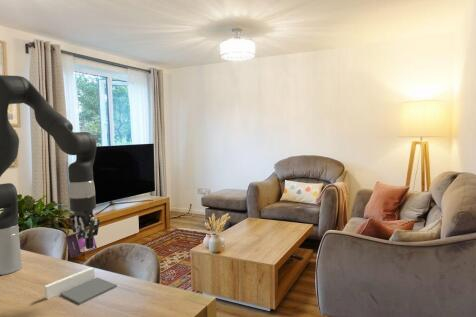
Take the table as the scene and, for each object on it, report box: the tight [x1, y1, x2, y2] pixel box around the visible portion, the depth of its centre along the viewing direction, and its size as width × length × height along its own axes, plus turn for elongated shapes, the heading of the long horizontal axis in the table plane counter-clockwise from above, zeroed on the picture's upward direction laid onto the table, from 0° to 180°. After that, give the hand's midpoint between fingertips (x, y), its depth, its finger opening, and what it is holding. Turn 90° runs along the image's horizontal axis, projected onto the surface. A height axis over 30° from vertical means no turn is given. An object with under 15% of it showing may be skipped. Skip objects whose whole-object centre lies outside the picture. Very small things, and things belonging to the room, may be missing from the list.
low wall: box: [44, 266, 96, 300], centre depth 109 cm, size 2×16×4 cm, turn 146°
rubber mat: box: [59, 277, 118, 305], centre depth 107 cm, size 11×13×1 cm
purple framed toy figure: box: [65, 230, 98, 259], centre depth 104 cm, size 7×5×9 cm
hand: (85, 246), depth 106 cm, fingers closed on purple framed toy figure, 4 cm apart
